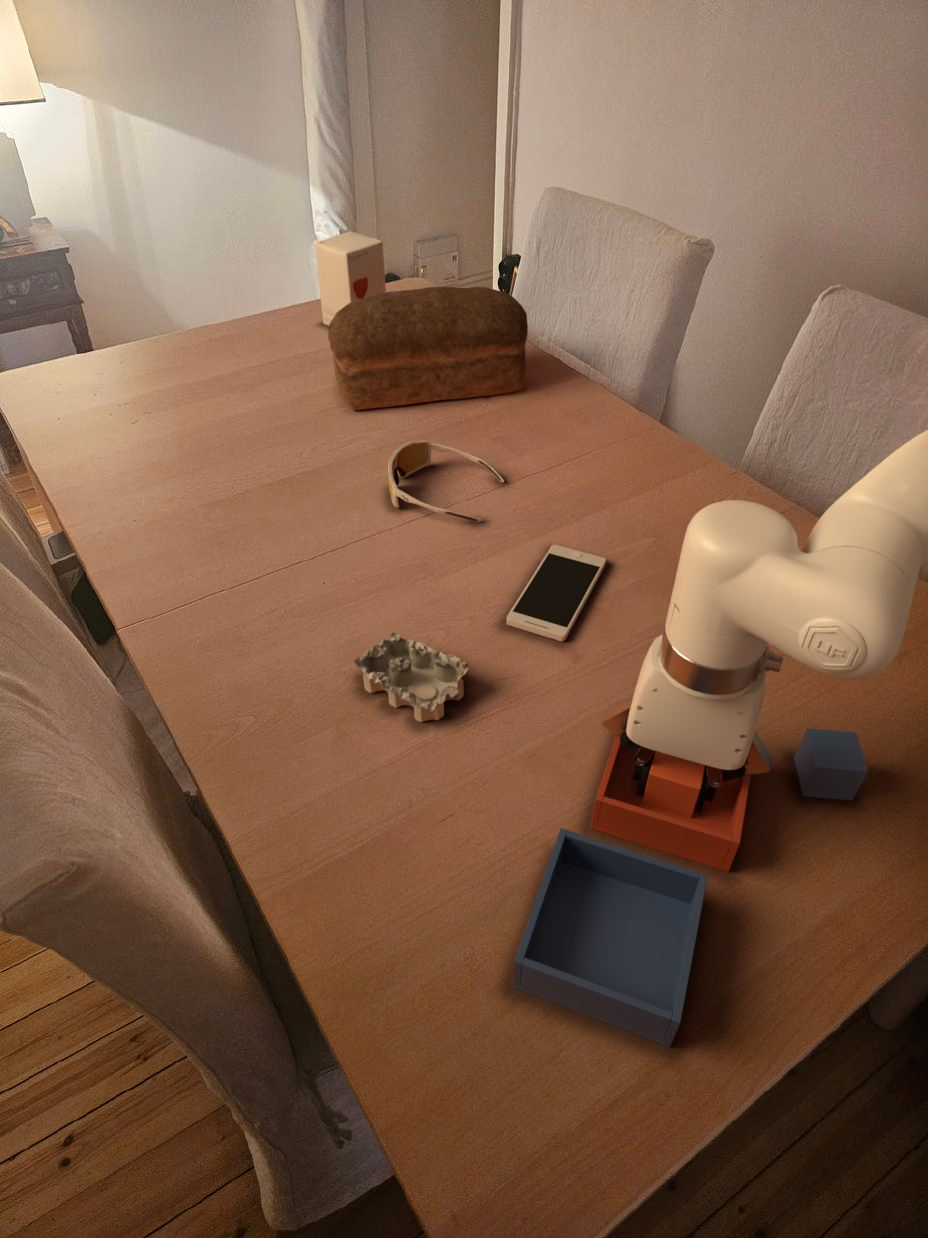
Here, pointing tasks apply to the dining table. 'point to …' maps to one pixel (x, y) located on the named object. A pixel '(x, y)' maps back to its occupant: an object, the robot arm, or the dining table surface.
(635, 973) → the blue bin
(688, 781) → the terracotta block
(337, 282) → the white product box
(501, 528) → the dining table surface
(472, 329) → the bread
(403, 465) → the sunglasses
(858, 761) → the blue block
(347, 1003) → the dining table surface
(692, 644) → the robot arm
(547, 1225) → the dining table surface
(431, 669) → the egg carton
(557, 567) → the smartphone
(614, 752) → the terracotta bin
